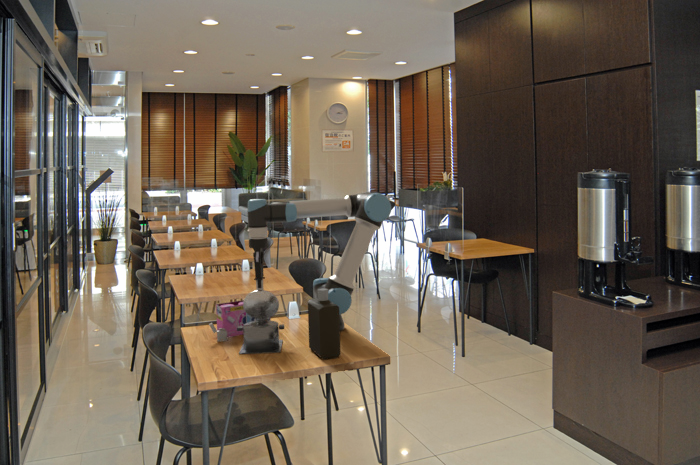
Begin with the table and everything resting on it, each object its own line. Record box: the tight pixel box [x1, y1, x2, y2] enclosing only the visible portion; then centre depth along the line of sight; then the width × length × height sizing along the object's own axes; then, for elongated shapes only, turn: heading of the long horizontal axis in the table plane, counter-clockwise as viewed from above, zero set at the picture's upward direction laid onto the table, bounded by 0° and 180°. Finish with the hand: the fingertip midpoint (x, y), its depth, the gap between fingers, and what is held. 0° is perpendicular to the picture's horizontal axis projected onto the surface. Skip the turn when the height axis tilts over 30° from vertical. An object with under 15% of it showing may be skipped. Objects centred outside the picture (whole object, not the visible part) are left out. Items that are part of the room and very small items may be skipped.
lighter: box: [208, 322, 228, 342], centre depth 233 cm, size 7×2×8 cm, turn 104°
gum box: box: [215, 299, 272, 338], centre depth 246 cm, size 24×8×14 cm, turn 123°
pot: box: [237, 318, 285, 355], centre depth 224 cm, size 19×18×9 cm
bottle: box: [307, 288, 341, 361], centre depth 213 cm, size 8×16×25 cm, turn 22°
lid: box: [243, 289, 280, 320], centre depth 227 cm, size 14×15×3 cm
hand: (260, 295), depth 225 cm, fingers closed
